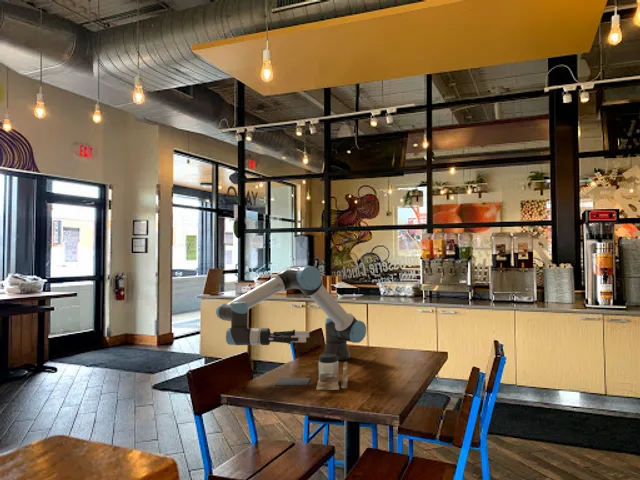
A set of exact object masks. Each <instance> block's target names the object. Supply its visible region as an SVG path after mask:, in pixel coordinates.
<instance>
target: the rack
mask: <svg viewBox="0 0 640 480" xmlns="http://www.w3.org/2000/svg"><path fill="white" fill-rule="evenodd" d="M342 370H343V371H342V373H343V374H342V377H341V383H340V384H341V385H340V384H338V387H318V384H316V386H315V387H316V390H317V391H322V390H323V391H324V390H325V391H331V390H332V391H335V390H337V391H339V390H340V387H341V389H348V383H349V379H348V377H349V373H348V370H349V369H348V361H343V368H342Z"/></svg>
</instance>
